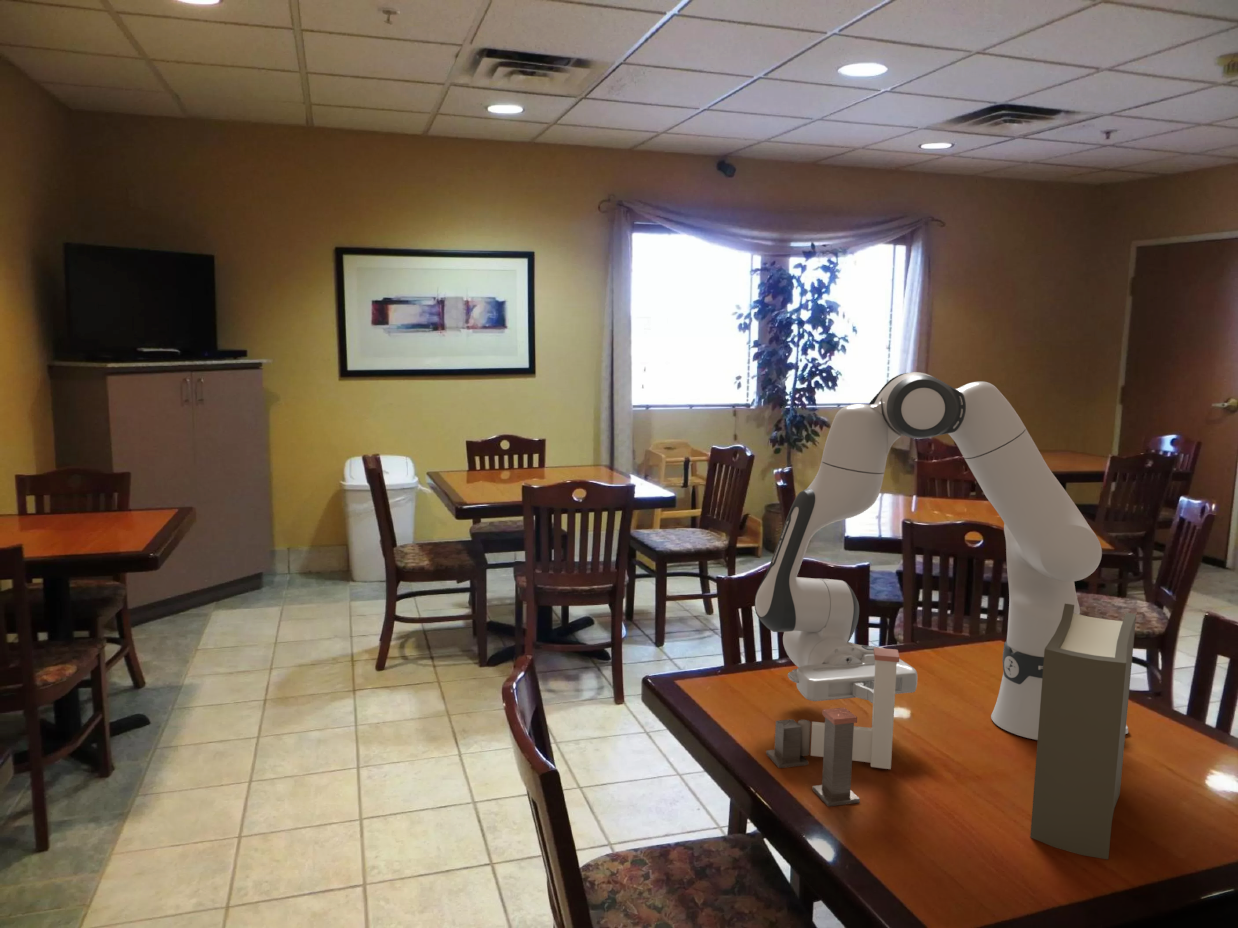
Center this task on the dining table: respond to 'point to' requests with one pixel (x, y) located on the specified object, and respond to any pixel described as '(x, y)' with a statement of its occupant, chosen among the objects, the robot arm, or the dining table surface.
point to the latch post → (837, 758)
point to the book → (1082, 732)
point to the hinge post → (787, 745)
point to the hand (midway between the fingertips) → (880, 698)
